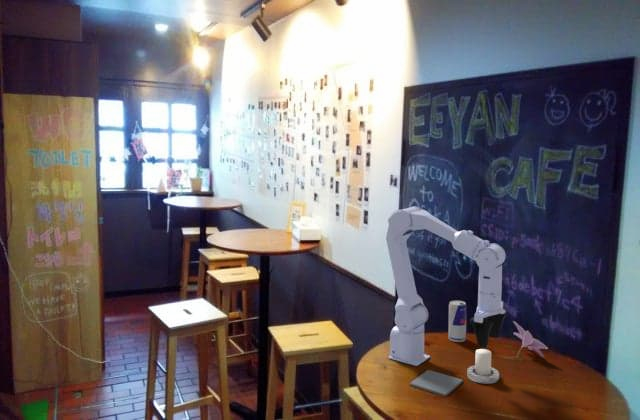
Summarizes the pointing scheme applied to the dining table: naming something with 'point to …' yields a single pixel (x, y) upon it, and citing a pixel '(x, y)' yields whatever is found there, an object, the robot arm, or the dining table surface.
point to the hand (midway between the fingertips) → (488, 341)
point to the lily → (529, 340)
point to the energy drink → (457, 321)
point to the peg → (483, 362)
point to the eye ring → (483, 379)
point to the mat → (436, 382)
